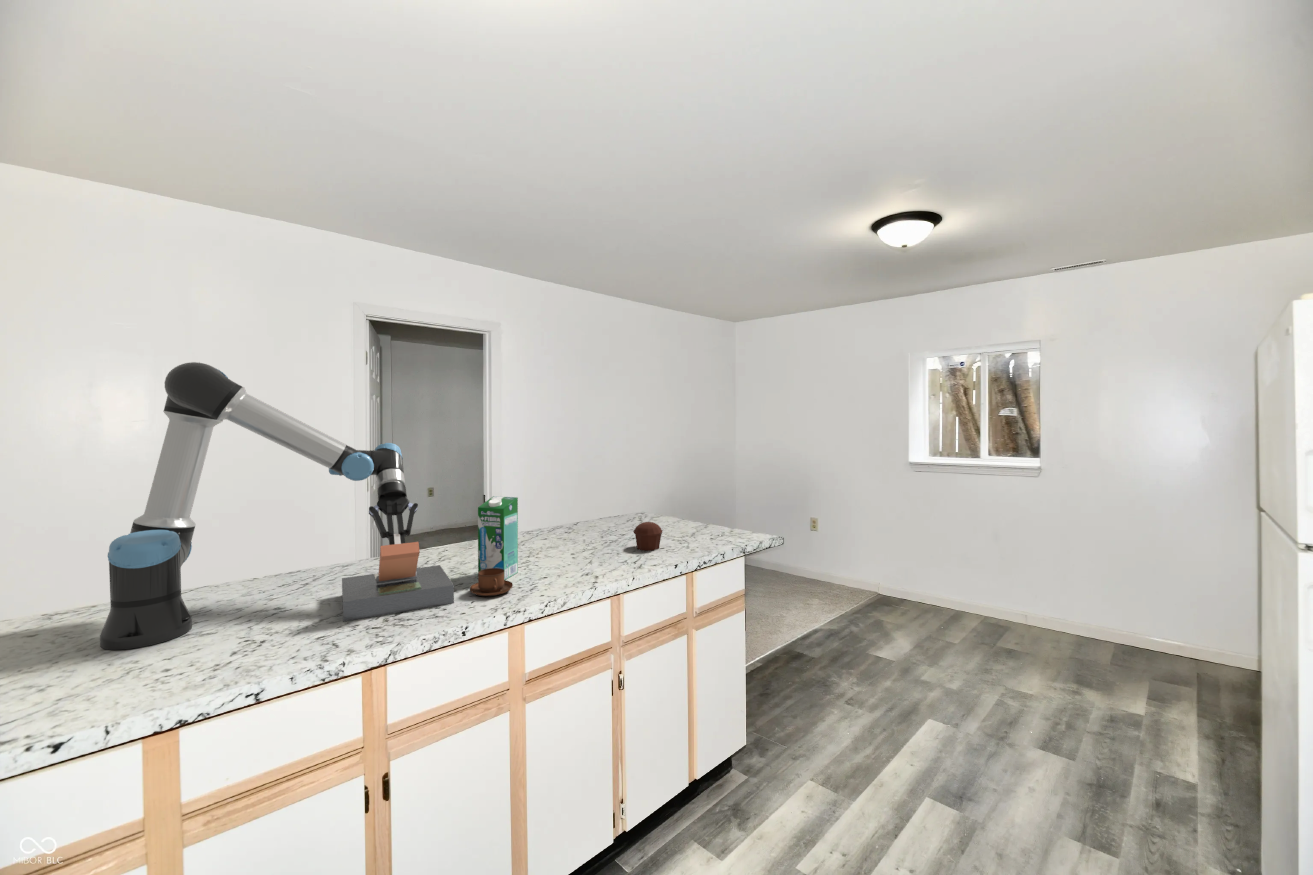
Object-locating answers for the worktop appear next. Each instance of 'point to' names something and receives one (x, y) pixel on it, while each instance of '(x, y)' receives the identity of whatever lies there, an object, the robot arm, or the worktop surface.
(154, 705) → the worktop surface
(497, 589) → the cup and saucer
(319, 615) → the worktop surface
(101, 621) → the worktop surface
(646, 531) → the muffin
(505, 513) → the milk carton
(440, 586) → the box
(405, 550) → the orange thin slab
